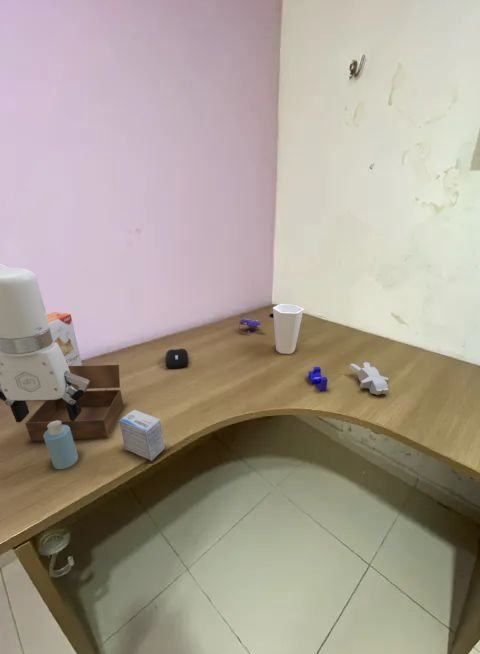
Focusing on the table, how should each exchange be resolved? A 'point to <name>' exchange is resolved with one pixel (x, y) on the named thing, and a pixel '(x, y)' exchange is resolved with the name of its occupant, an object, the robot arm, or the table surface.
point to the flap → (98, 375)
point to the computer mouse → (176, 358)
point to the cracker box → (65, 337)
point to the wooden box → (90, 423)
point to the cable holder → (318, 378)
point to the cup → (286, 326)
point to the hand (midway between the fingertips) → (49, 417)
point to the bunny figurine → (371, 379)
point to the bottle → (60, 445)
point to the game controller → (249, 323)
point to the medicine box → (142, 434)
